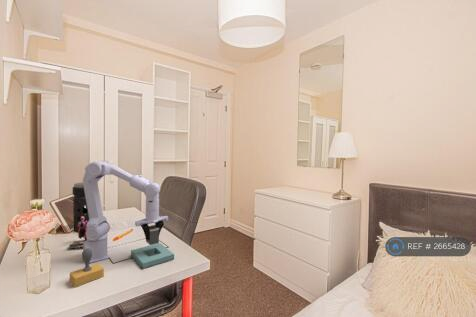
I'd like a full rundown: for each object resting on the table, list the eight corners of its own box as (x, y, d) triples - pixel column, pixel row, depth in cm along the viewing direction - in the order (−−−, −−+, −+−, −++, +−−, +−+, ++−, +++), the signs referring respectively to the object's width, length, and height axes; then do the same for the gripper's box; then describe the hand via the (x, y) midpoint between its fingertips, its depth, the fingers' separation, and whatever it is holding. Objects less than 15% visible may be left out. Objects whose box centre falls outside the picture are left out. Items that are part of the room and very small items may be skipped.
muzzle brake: (69, 230, 141) (77, 234, 135) (69, 183, 140) (76, 185, 134) (87, 225, 149) (94, 229, 143) (86, 181, 148) (94, 183, 142)
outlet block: (143, 269, 99) (143, 263, 99) (130, 255, 111) (130, 250, 111) (174, 259, 108) (174, 254, 108) (159, 247, 120) (159, 242, 120)
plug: (150, 245, 106) (150, 229, 106) (145, 241, 110) (145, 226, 109) (158, 242, 109) (159, 227, 108) (154, 239, 112) (154, 224, 112)
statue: (74, 244, 125) (74, 215, 125) (94, 242, 127) (94, 214, 128) (66, 250, 114) (66, 219, 115) (88, 248, 117) (88, 217, 118)
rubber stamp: (98, 271, 97) (98, 242, 96) (104, 276, 93) (103, 246, 92) (69, 281, 89) (69, 250, 89) (74, 288, 85) (74, 255, 85)
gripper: (139, 214, 101) (139, 245, 101) (171, 208, 110) (170, 237, 111) (133, 210, 106) (133, 240, 107) (164, 205, 116) (164, 233, 116)
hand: (152, 238), depth 109 cm, fingers closed on plug, 4 cm apart
